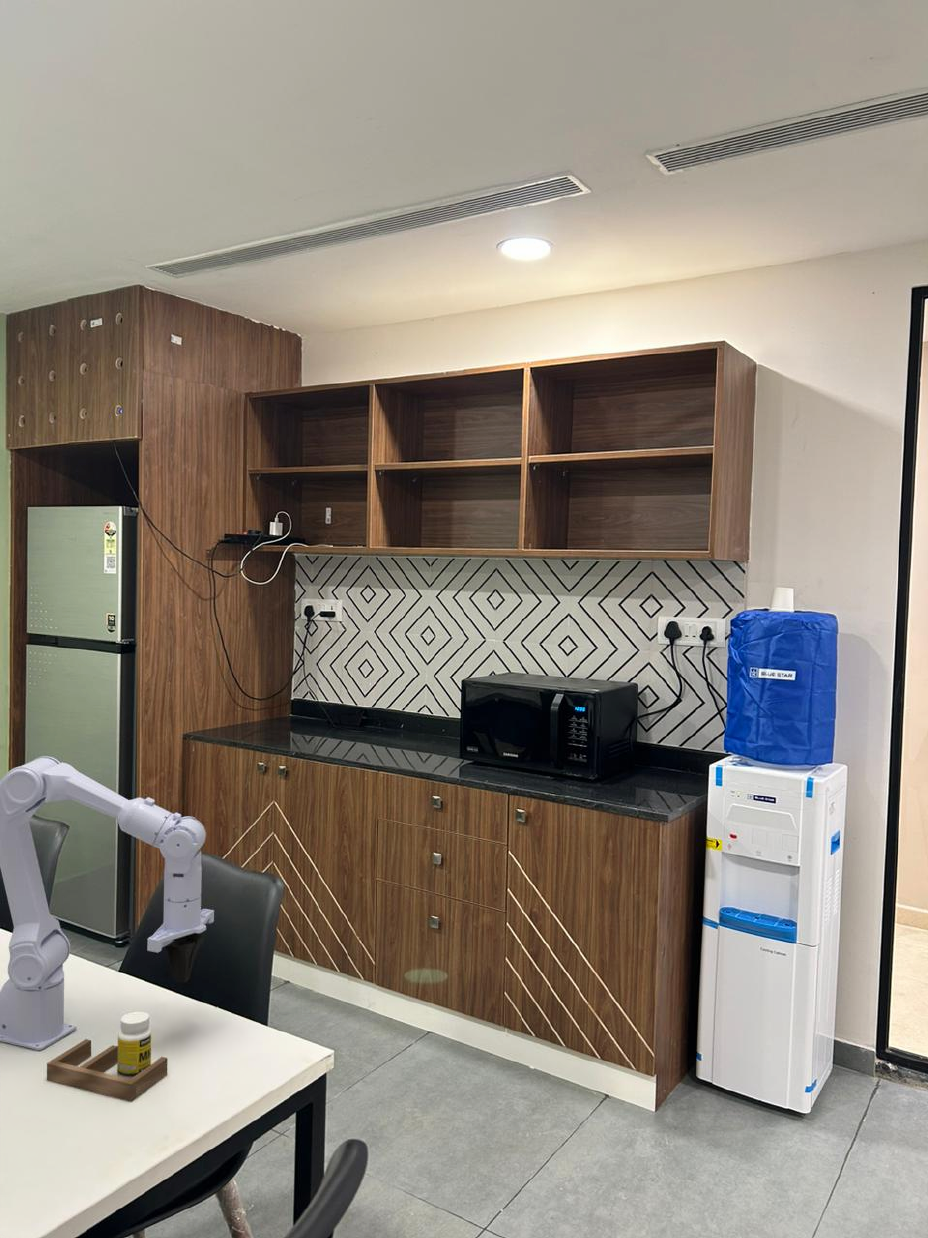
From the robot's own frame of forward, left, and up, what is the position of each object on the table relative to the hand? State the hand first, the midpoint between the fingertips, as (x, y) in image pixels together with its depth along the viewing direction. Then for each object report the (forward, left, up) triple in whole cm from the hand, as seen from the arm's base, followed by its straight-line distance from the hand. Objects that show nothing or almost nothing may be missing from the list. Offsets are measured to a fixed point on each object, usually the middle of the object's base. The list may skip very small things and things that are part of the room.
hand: (181, 980), depth 152 cm
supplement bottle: (0, -11, -10) cm, 15 cm away
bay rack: (-2, -14, -9) cm, 17 cm away
